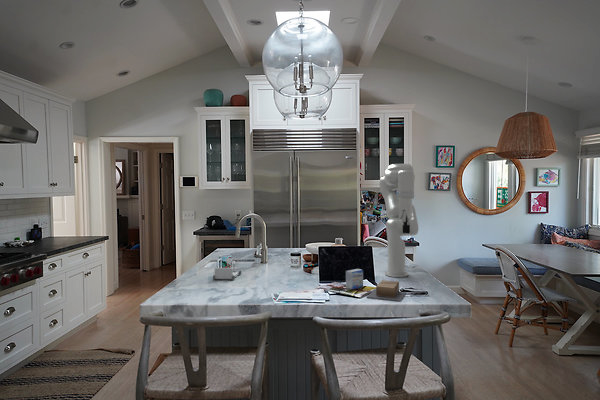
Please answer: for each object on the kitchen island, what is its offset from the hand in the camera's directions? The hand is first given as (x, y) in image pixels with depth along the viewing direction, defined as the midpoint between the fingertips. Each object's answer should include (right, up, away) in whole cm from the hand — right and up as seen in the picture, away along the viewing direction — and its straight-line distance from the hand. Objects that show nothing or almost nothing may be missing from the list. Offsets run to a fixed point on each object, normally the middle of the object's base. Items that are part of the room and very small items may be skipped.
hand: (406, 233), depth 194 cm
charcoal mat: (-12, -28, -12) cm, 32 cm away
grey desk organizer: (-93, -28, +31) cm, 102 cm away
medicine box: (-25, -28, +4) cm, 37 cm away
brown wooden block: (-9, -25, -4) cm, 26 cm away
